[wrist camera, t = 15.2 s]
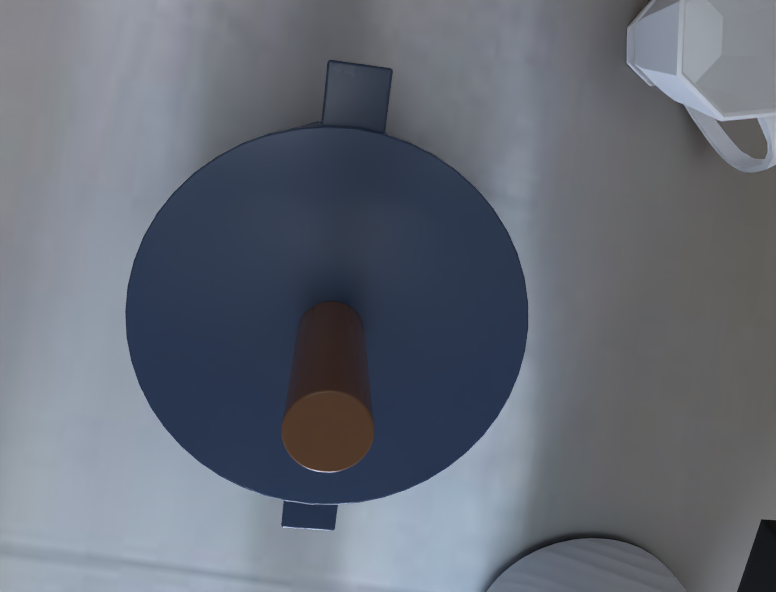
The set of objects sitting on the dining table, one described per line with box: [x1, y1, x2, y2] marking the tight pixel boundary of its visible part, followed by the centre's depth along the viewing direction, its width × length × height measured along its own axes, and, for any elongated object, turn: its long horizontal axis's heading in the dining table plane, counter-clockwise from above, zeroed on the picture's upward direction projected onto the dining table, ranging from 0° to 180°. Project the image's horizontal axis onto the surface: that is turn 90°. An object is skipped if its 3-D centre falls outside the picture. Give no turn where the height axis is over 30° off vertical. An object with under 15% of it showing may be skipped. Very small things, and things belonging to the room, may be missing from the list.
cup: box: [626, 0, 776, 173], centre depth 31 cm, size 7×10×8 cm
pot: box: [281, 60, 393, 531], centre depth 32 cm, size 15×20×10 cm
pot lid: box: [125, 125, 528, 505], centre depth 24 cm, size 16×16×9 cm
